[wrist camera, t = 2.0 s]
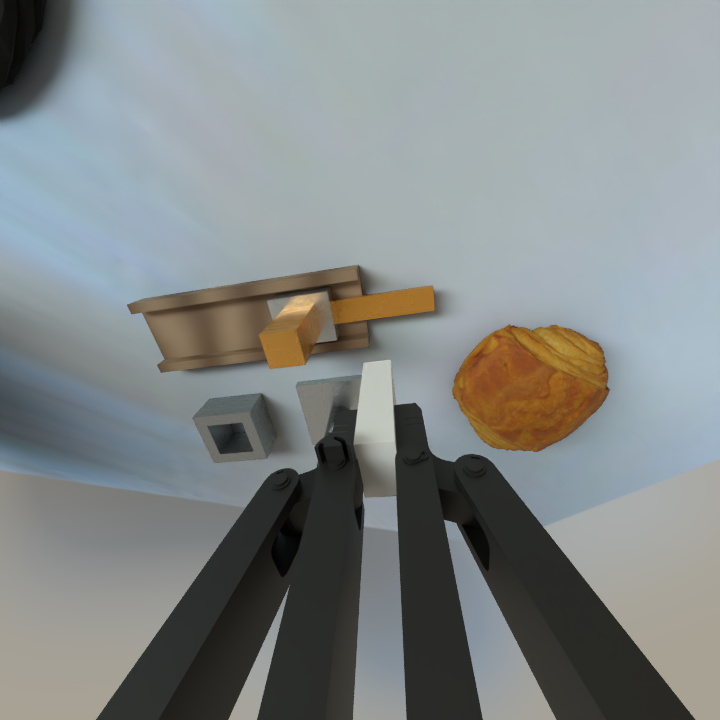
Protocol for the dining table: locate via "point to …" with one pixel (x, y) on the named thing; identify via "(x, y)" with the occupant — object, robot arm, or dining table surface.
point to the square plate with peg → (327, 402)
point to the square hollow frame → (220, 435)
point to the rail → (239, 319)
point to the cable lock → (17, 34)
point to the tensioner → (328, 318)
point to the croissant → (531, 386)
